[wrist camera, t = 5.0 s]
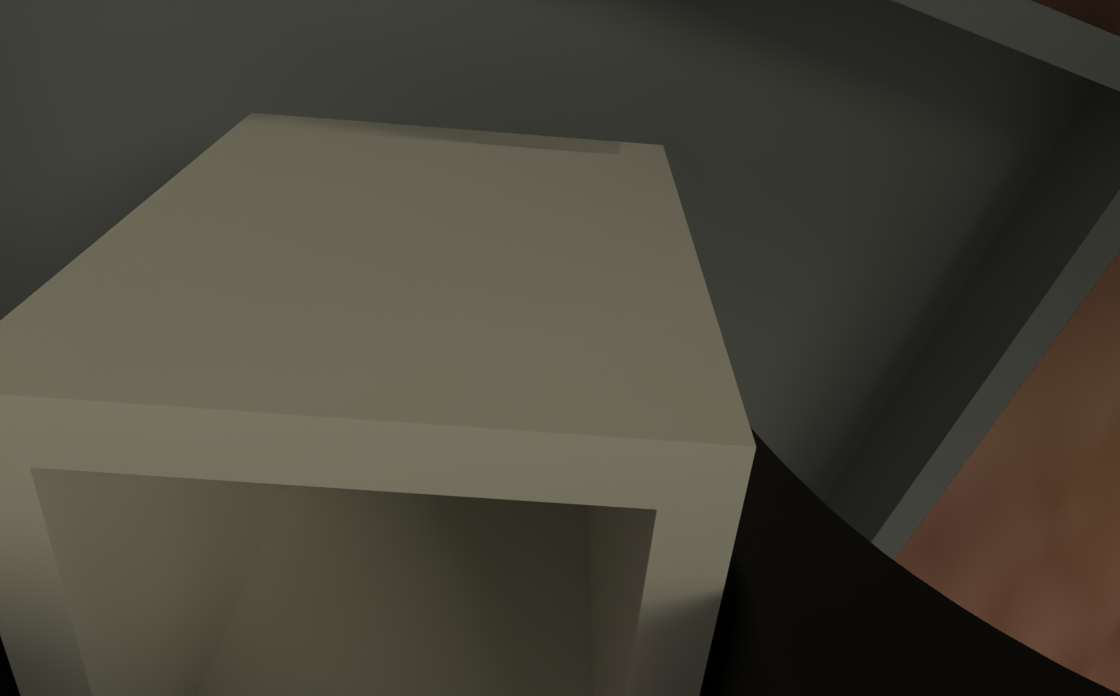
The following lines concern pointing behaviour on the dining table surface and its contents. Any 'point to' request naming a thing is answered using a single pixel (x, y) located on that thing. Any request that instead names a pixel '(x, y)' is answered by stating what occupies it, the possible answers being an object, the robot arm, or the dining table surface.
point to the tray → (696, 165)
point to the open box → (374, 428)
